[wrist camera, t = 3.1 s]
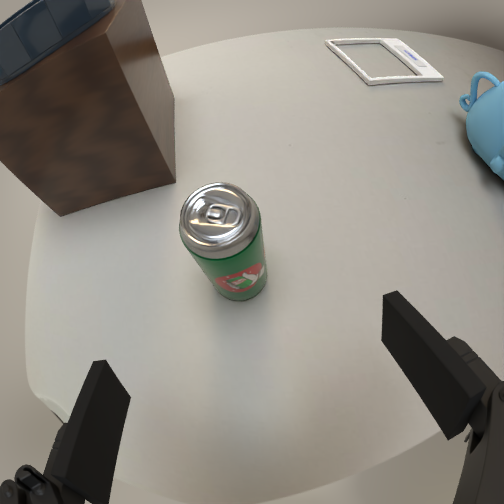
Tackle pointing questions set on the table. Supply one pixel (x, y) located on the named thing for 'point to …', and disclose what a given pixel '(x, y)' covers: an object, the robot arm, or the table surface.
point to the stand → (92, 116)
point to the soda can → (225, 239)
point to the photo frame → (399, 50)
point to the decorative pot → (486, 122)
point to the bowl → (44, 31)
